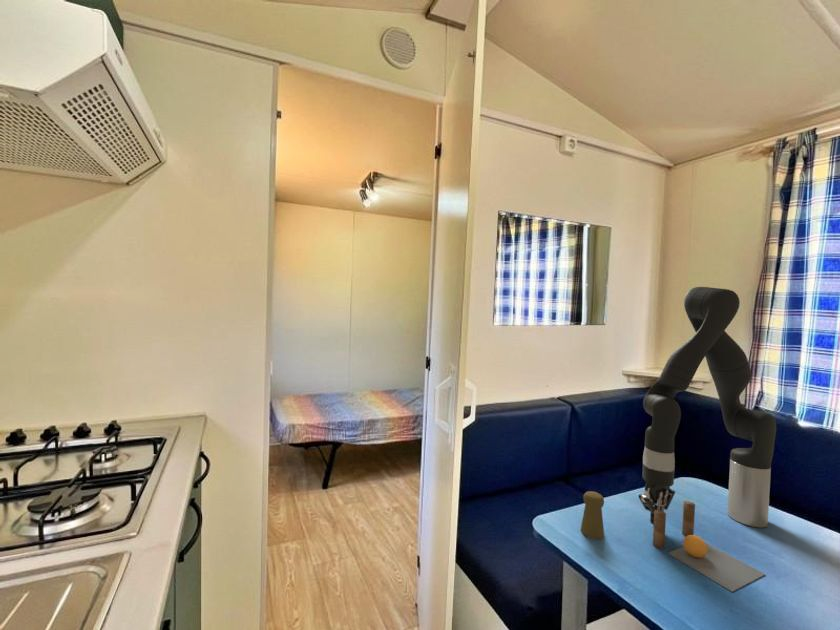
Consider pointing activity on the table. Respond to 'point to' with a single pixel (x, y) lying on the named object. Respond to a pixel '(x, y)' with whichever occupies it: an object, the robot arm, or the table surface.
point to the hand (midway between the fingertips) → (655, 524)
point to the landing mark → (720, 567)
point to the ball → (695, 546)
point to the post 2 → (688, 518)
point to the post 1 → (659, 529)
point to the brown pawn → (593, 516)
